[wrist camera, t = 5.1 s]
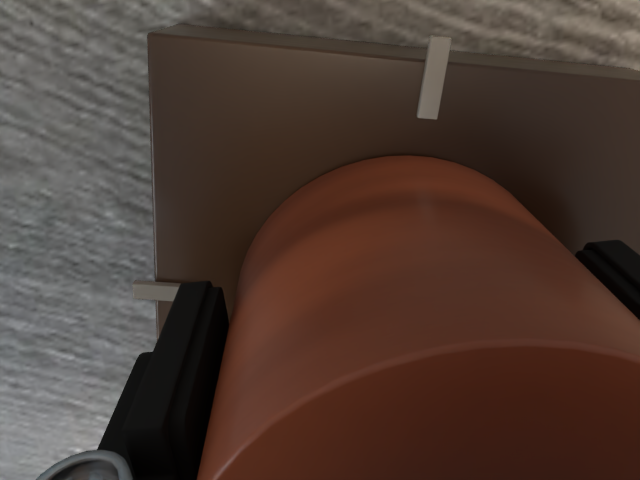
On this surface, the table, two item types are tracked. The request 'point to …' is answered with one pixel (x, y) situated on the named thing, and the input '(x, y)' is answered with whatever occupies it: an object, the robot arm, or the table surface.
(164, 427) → the robot arm
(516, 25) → the table surface
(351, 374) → the orange rotary knob
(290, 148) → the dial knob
